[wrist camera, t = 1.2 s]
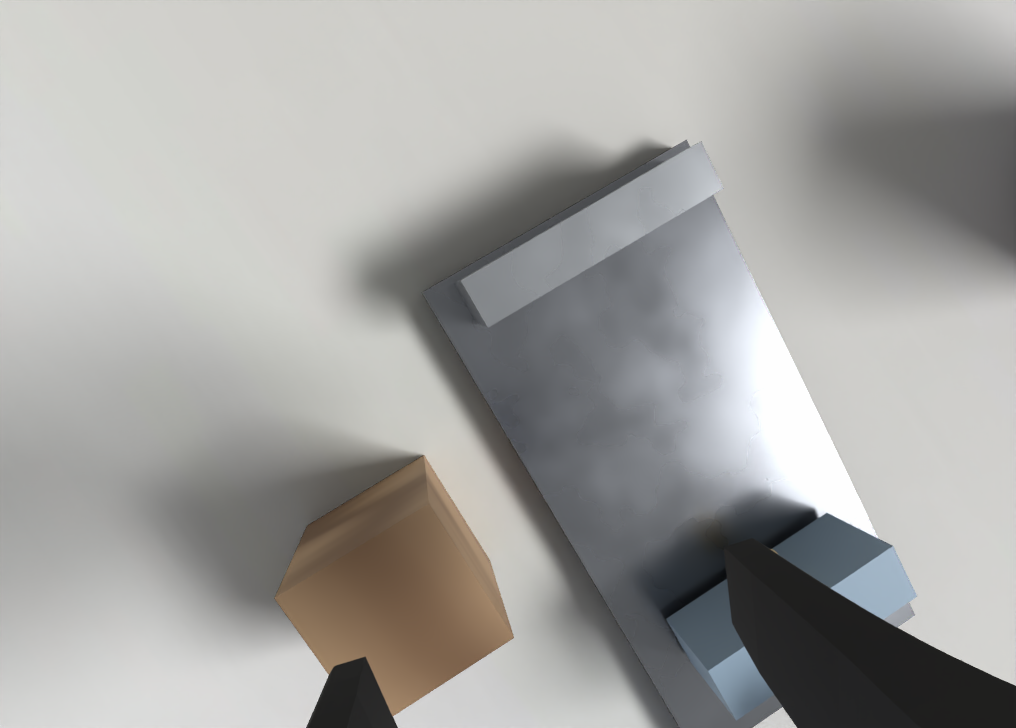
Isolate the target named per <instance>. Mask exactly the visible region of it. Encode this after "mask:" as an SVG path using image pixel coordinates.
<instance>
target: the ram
mask: <svg viewBox="0 0 1016 728" xmlns="http://www.w3.org/2000/svg"><path fill="white" fill-rule="evenodd" d="M771 550H772V551H774V552H775V553H777V554H778V555H780V556H781V557H783V558H784V559H786V560H787V561H789V562H790V563H792V564H794V565H795V566H797V567H798V568H800V569H801V570H803V571H804V572H806V573H807V574H809V575H810V576H812V577H814V578H815V579H817V580H818V581H820V582H821V583H823V584H825V585H826V586H828V587H829V588H831V589H833V590H834V591H836V592H837V593H839V594H841V595H842V596H844V597H846V598H847V599H849V600H851V601H852V602H854V603H856V604H857V605H859V606H861V607H862V608H864V609H866V610H867V611H869V612H871V613H872V614H874V615H876V616H878V617H879V618H881V619H883V620H884V619H885V618H886V617H888V616H889V615H891V614H892V613H894V612H895V611H897V610H898V609H900V608H901V607H902V606H904V605H905V604H907V603H908V602H910V601H911V600H913V599H914V598H916V597H917V595H916V593H915V591H914V589H913V587H912V585H911V583H910V580H909V578H908V576H907V574H906V572H905V570H904V568H903V566H902V564H901V562H900V560H899V557H898V555H897V553H896V551H895V549H894V547H893V546H892V545H890V544H888V543H886V542H884V541H882V540H880V539H878V538H876V537H874V536H872V535H870V534H868V533H866V532H864V531H862V530H860V529H858V528H856V527H854V526H852V525H850V524H848V523H846V522H844V521H843V520H841V519H839V518H837V517H835V516H833V515H831V514H829V513H825V514H824V515H822V516H821V517H819V518H818V519H816V520H815V521H813V522H812V523H810V524H809V525H807V526H806V527H804V528H803V529H801V530H800V531H798V532H797V533H795V534H794V535H792V536H791V537H789V538H788V539H786V540H785V541H783V542H782V543H780V544H779V545H777V546H776V547H774V548H773V549H771ZM666 620H667V622H668V623H669V625H670V627H671V629H672V630H673V632H674V634H675V636H676V637H677V639H678V641H679V643H680V644H681V646H682V648H683V649H684V651H685V653H686V655H687V656H688V658H689V660H690V662H691V663H692V664H693V666H694V667H695V668H696V670H697V671H698V672H699V673H700V675H701V676H702V677H703V679H704V680H705V681H706V682H707V684H708V685H709V686H710V688H711V689H712V690H713V691H714V693H715V694H716V695H717V697H718V698H719V699H720V700H721V702H722V703H723V704H724V705H725V707H726V708H727V709H728V711H729V712H730V713H731V714H732V716H733V717H734V718H735V720H736V721H737V720H738V719H740V718H741V717H743V716H744V715H745V714H747V713H748V712H750V711H751V710H753V709H754V708H756V707H757V706H759V705H760V704H761V703H763V702H764V701H766V700H767V699H769V698H770V697H772V696H773V695H774V694H773V692H772V691H771V689H770V688H769V686H768V685H767V683H766V682H765V680H764V679H763V678H762V676H761V675H760V673H759V671H758V670H757V668H756V666H755V664H754V662H753V661H752V659H751V657H750V655H749V654H748V652H747V650H746V648H745V646H744V645H743V643H742V641H741V639H740V637H739V635H738V633H737V632H736V630H735V628H734V626H733V624H732V619H731V610H730V601H729V592H728V583H727V579H726V580H724V581H723V582H721V583H720V584H718V585H717V586H715V587H714V588H712V589H710V590H709V591H707V592H706V593H704V594H703V595H701V596H700V597H698V598H697V599H695V600H694V601H692V602H691V603H689V604H688V605H686V606H685V607H683V608H682V609H680V610H679V611H677V612H676V613H674V614H673V615H671V616H670V617H668V618H667V619H666Z"/></svg>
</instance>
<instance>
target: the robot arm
mask: <svg viewBox="0 0 1016 728" xmlns="http://www.w3.org/2000/svg"><path fill="white" fill-rule="evenodd" d="M723 548H724V557H725V565H726V574H727V583H728V592H729V601H730V610H731V619H732V624H733V626H734V628H735V630H736V632H737V633H738V635H739V637H740V639H741V641H742V643H743V645H744V646H745V648H746V650H747V652H748V654H749V655H750V657H751V659H752V661H753V662H754V664H755V666H756V668H757V670H758V671H759V673H760V675H761V676H762V678H763V679H764V680H765V682H766V683H767V685H768V686H769V688H770V689H771V691H772V692H773V694H774V695H775V696H776V698H777V699H778V701H779V702H780V704H781V705H782V706H783V708H784V709H785V711H786V712H787V714H788V715H789V716H790V718H791V719H792V721H793V722H794V724H795V725H796V726H797V728H1016V686H1015V685H1013V684H1010V683H1008V682H1006V681H1003V680H1001V679H999V678H997V677H994V676H992V675H990V674H988V673H986V672H984V671H982V670H980V669H977V668H975V667H973V666H971V665H969V664H967V663H965V662H963V661H961V660H959V659H956V658H954V657H952V656H950V655H948V654H946V653H944V652H942V651H940V650H938V649H936V648H934V647H932V646H930V645H929V644H927V643H925V642H923V641H921V640H919V639H917V638H915V637H914V636H912V635H910V634H908V633H906V632H904V631H903V630H901V629H899V628H897V627H895V626H893V625H892V624H890V623H888V622H886V621H885V620H883V619H881V618H879V617H878V616H876V615H874V614H872V613H871V612H869V611H867V610H866V609H864V608H862V607H861V606H859V605H857V604H856V603H854V602H852V601H851V600H849V599H847V598H846V597H844V596H842V595H841V594H839V593H837V592H836V591H834V590H833V589H831V588H829V587H828V586H826V585H825V584H823V583H821V582H820V581H818V580H817V579H815V578H814V577H812V576H810V575H809V574H807V573H806V572H804V571H803V570H801V569H800V568H798V567H797V566H795V565H794V564H792V563H790V562H789V561H787V560H786V559H784V558H783V557H781V556H780V555H778V554H777V553H775V552H774V551H772V550H771V549H769V548H768V547H766V546H765V545H763V544H762V543H760V542H759V541H757V540H755V539H753V538H751V539H748V540H744V541H741V542H738V543H735V544H731V545H728V546H725V547H723ZM306 728H398V727H397V725H396V723H395V721H394V718H393V716H392V714H391V712H390V710H389V707H388V705H387V703H386V701H385V698H384V696H383V694H382V692H381V690H380V687H379V685H378V683H377V681H376V679H375V676H374V674H373V672H372V670H371V667H370V665H369V663H368V661H367V659H366V656H365V657H362V658H359V659H355V660H352V661H349V662H346V663H342V664H339V665H336V666H334V667H333V669H332V670H331V672H330V674H329V676H328V679H327V681H326V683H325V686H324V688H323V690H322V693H321V695H320V697H319V700H318V702H317V704H316V707H315V709H314V711H313V713H312V716H311V718H310V720H309V723H308V725H307V727H306Z"/></svg>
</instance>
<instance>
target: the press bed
mask: <svg viewBox="0 0 1016 728" xmlns="http://www.w3.org/2000/svg"><path fill="white" fill-rule="evenodd" d="M722 189H724V188H723V186H722V183H721V181H720V179H719V177H718V175H717V173H716V171H715V169H714V167H713V165H712V162H711V160H710V158H709V156H708V154H707V152H706V150H705V148H704V146H703V144H702V141H701V142H699V143H697V144H695V145H693V146H692V147H690V146H689V144H688V142H687V140H685V141H683V142H682V143H680V144H678V145H677V146H675V147H673V148H671V149H670V150H668V151H666V152H664V153H663V154H661V155H659V156H658V157H656V158H654V159H652V160H651V161H649V162H647V163H645V164H644V165H642V166H640V167H638V168H637V169H635V170H633V171H632V172H630V173H628V174H626V175H625V176H623V177H621V178H619V179H618V180H616V181H614V182H613V183H611V184H609V185H607V186H606V187H604V188H602V189H600V190H599V191H597V192H595V193H593V194H592V195H590V196H588V197H587V198H585V199H583V200H581V201H580V202H578V203H576V204H574V205H573V206H571V207H569V208H567V209H566V210H564V211H562V212H561V213H559V214H557V215H555V216H554V217H552V218H550V219H548V220H547V221H545V222H543V223H542V224H540V225H538V226H536V227H535V228H533V229H531V230H529V231H528V232H526V233H524V234H522V235H521V236H519V237H517V238H516V239H514V240H512V241H510V242H509V243H507V244H505V245H503V246H502V247H500V248H498V249H496V250H495V251H493V252H491V253H490V254H488V255H486V256H484V257H483V258H481V259H479V260H477V261H476V262H474V263H472V264H471V265H469V266H467V267H465V268H464V269H462V270H460V271H458V272H457V273H455V274H453V275H451V276H450V277H448V278H446V279H445V280H443V281H441V282H439V283H438V284H436V285H434V286H432V287H431V288H429V289H427V290H426V291H424V292H422V294H423V296H424V297H425V299H426V301H427V302H428V304H429V306H430V307H431V309H432V311H433V312H434V314H435V316H436V318H437V319H438V321H439V323H440V324H441V326H442V328H443V329H444V331H445V333H446V334H447V336H448V338H449V339H450V341H451V343H452V344H453V346H454V348H455V350H456V351H457V353H458V355H459V356H460V358H461V360H462V361H463V363H464V365H465V366H466V368H467V370H468V371H469V373H470V375H471V377H472V378H473V380H474V382H475V383H476V385H477V387H478V388H479V390H480V392H481V393H482V395H483V397H484V398H485V400H486V402H487V404H488V405H489V407H490V409H491V410H492V412H493V414H494V415H495V417H496V419H497V420H498V422H499V424H500V425H501V427H502V429H503V431H504V432H505V434H506V436H507V437H508V439H509V441H510V442H511V444H512V446H513V447H514V449H515V451H516V452H517V454H518V456H519V458H520V459H521V461H522V463H523V464H524V466H525V468H526V469H527V471H528V473H529V474H530V476H531V478H532V479H533V481H534V483H535V485H536V486H537V488H538V490H539V491H540V493H541V495H542V496H543V498H544V500H545V501H546V503H547V505H548V506H549V508H550V510H551V512H552V513H553V515H554V517H555V518H556V520H557V522H558V523H559V525H560V527H561V528H562V530H563V532H564V533H565V535H566V537H567V539H568V540H569V542H570V544H571V545H572V547H573V549H574V550H575V552H576V554H577V555H578V557H579V559H580V560H581V562H582V564H583V566H584V567H585V569H586V571H587V572H588V574H589V576H590V577H591V579H592V581H593V582H594V584H595V586H596V587H597V589H598V591H599V593H600V594H601V596H602V598H603V599H604V601H605V603H606V604H607V606H608V608H609V609H610V611H611V613H612V614H613V616H614V618H615V620H616V621H617V623H618V625H619V626H620V628H621V630H622V631H623V633H624V635H625V636H626V638H627V640H628V641H629V643H630V645H631V647H632V648H633V650H634V652H635V653H636V655H637V657H638V658H639V660H640V662H641V663H642V665H643V667H644V668H645V670H646V672H647V674H648V675H649V677H650V679H651V680H652V682H653V684H654V685H655V687H656V689H657V690H658V692H659V694H660V695H661V697H662V699H663V701H664V702H665V704H666V706H667V707H668V709H669V711H670V712H671V714H672V716H673V717H674V719H675V721H676V722H677V724H678V726H679V728H752V727H754V726H755V725H757V724H758V723H760V722H761V721H763V720H764V719H765V718H767V717H768V716H770V715H771V714H773V713H774V712H776V711H777V710H779V709H780V708H781V707H783V706H782V705H781V704H780V702H779V701H778V699H777V698H776V696H775V695H773V696H772V697H770V698H769V699H767V700H766V701H764V702H763V703H761V704H760V705H759V706H757V707H756V708H754V709H753V710H751V711H750V712H748V713H747V714H745V715H744V716H743V717H741V718H740V719H738V720H737V721H736V720H735V718H734V717H733V716H732V714H731V713H730V712H729V711H728V709H727V708H726V707H725V705H724V704H723V703H722V702H721V700H720V699H719V698H718V697H717V695H716V694H715V693H714V691H713V690H712V689H711V688H710V686H709V685H708V684H707V682H706V681H705V680H704V679H703V677H702V676H701V675H700V673H699V672H698V671H697V670H696V668H695V667H694V666H693V664H692V663H691V662H690V660H689V658H688V656H687V655H686V653H685V651H684V649H683V648H682V646H681V644H680V643H679V641H678V639H677V637H676V636H675V634H674V632H673V630H672V629H671V627H670V625H669V623H668V622H667V620H666V619H667V618H668V617H670V616H671V615H673V614H674V613H676V612H677V611H679V610H680V609H682V608H683V607H685V606H686V605H688V604H689V603H691V602H692V601H694V600H695V599H697V598H698V597H700V596H701V595H703V594H704V593H706V592H707V591H709V590H710V589H712V588H714V587H715V586H717V585H718V584H720V583H721V582H723V581H724V580H726V579H727V574H726V565H725V557H724V548H723V547H725V546H728V545H731V544H735V543H738V542H741V541H744V540H748V539H751V538H753V539H755V540H757V541H759V542H760V543H762V544H763V545H765V546H766V547H768V548H769V549H773V548H774V547H776V546H777V545H779V544H780V543H782V542H783V541H785V540H786V539H788V538H789V537H791V536H792V535H794V534H795V533H797V532H798V531H800V530H801V529H803V528H804V527H806V526H807V525H809V524H810V523H812V522H813V521H815V520H816V519H818V518H819V517H821V516H822V515H824V514H825V513H829V514H831V515H833V516H835V517H837V518H839V519H841V520H843V521H844V522H846V523H848V524H850V525H852V526H854V527H856V528H858V529H860V530H862V531H864V532H866V533H868V534H870V535H872V536H874V537H876V538H878V537H877V535H876V533H875V531H874V528H873V526H872V524H871V522H870V520H869V518H868V516H867V514H866V512H865V510H864V508H863V506H862V504H861V501H860V499H859V497H858V495H857V493H856V491H855V489H854V487H853V485H852V483H851V481H850V479H849V477H848V474H847V472H846V470H845V468H844V466H843V464H842V462H841V460H840V458H839V456H838V454H837V452H836V449H835V447H834V445H833V443H832V441H831V439H830V437H829V435H828V433H827V431H826V429H825V427H824V425H823V422H822V420H821V418H820V416H819V414H818V412H817V410H816V408H815V406H814V404H813V402H812V400H811V398H810V395H809V393H808V391H807V389H806V387H805V385H804V383H803V381H802V379H801V377H800V375H799V373H798V371H797V368H796V366H795V364H794V362H793V360H792V358H791V356H790V354H789V352H788V350H787V348H786V346H785V343H784V341H783V339H782V337H781V335H780V333H779V331H778V329H777V327H776V325H775V323H774V321H773V319H772V316H771V314H770V312H769V310H768V308H767V306H766V304H765V302H764V300H763V298H762V296H761V294H760V292H759V289H758V287H757V285H756V283H755V281H754V279H753V277H752V275H751V273H750V271H749V269H748V267H747V265H746V262H745V260H744V258H743V256H742V254H741V252H740V250H739V248H738V246H737V244H736V242H735V240H734V238H733V235H732V233H731V231H730V229H729V227H728V225H727V223H726V221H725V219H724V217H723V215H722V213H721V210H720V208H719V206H718V204H717V202H716V200H715V198H714V196H713V195H714V194H715V193H717V192H719V191H720V190H722ZM913 616H915V614H914V612H913V610H912V607H911V605H910V603H909V602H908V603H907V604H905V605H904V606H902V607H901V608H900V609H898V610H897V611H895V612H894V613H892V614H891V615H889V616H888V617H886V618H885V619H884V620H885V621H886V622H888V623H890V624H892V625H893V626H895V627H899V626H900V625H901V624H903V623H904V622H906V621H907V620H909V619H910V618H912V617H913Z"/></svg>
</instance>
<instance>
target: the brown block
mask: <svg viewBox="0 0 1016 728" xmlns="http://www.w3.org/2000/svg"><path fill="white" fill-rule="evenodd" d="M274 599H275V600H276V601H277V603H278V604H279V606H280V607H281V608H282V610H283V611H284V613H285V614H286V615H287V617H288V618H289V620H290V621H291V622H292V624H293V625H294V627H295V628H296V629H297V631H298V632H299V634H300V635H301V636H302V638H303V639H304V641H305V642H306V643H307V645H308V646H309V648H310V649H311V650H312V652H313V653H314V655H315V656H316V657H317V659H318V660H319V662H320V663H321V665H322V666H323V667H324V669H325V670H326V672H327V673H328V674H330V672H331V670H332V669H333V667H334V666H336V665H339V664H342V663H346V662H349V661H352V660H355V659H359V658H362V657H365V656H366V659H367V661H368V663H369V665H370V667H371V670H372V672H373V674H374V676H375V679H376V681H377V683H378V685H379V687H380V690H381V692H382V694H383V696H384V698H385V701H386V703H387V705H388V707H389V710H390V712H391V714H392V716H394V715H396V714H397V713H399V712H400V711H402V710H403V709H405V708H406V707H408V706H409V705H411V704H413V703H414V702H416V701H417V700H419V699H420V698H422V697H423V696H425V695H426V694H428V693H430V692H431V691H433V690H434V689H436V688H437V687H439V686H440V685H442V684H443V683H445V682H447V681H448V680H450V679H451V678H453V677H454V676H456V675H457V674H459V673H460V672H462V671H464V670H465V669H467V668H468V667H470V666H471V665H473V664H474V663H476V662H477V661H479V660H481V659H482V658H484V657H485V656H487V655H488V654H490V653H491V652H493V651H494V650H496V649H498V648H499V647H501V646H502V645H504V644H505V643H507V642H508V641H510V640H511V639H513V638H514V636H513V633H512V630H511V626H510V623H509V620H508V617H507V614H506V610H505V607H504V604H503V601H502V598H501V594H500V591H499V588H498V585H497V582H496V579H495V575H494V572H493V569H492V566H491V563H490V560H489V558H488V557H487V555H486V553H485V552H484V550H483V549H482V547H481V545H480V544H479V542H478V541H477V539H476V537H475V536H474V534H473V533H472V531H471V529H470V528H469V526H468V525H467V523H466V521H465V520H464V518H463V517H462V515H461V513H460V512H459V510H458V509H457V507H456V505H455V504H454V502H453V501H452V499H451V497H450V496H449V494H448V493H447V491H446V489H445V488H444V486H443V485H442V483H441V481H440V480H439V478H438V477H437V475H436V473H435V472H434V470H433V469H432V467H431V465H430V464H429V462H428V461H427V459H426V457H425V456H424V455H423V456H422V457H420V458H418V459H417V460H415V461H413V462H412V463H410V464H408V465H407V466H405V467H403V468H402V469H400V470H398V471H397V472H395V473H393V474H392V475H390V476H388V477H387V478H385V479H384V480H382V481H380V482H379V483H377V484H375V485H374V486H372V487H370V488H369V489H367V490H365V491H364V492H362V493H360V494H359V495H357V496H355V497H354V498H352V499H350V500H349V501H347V502H346V503H344V504H342V505H341V506H339V507H337V508H336V509H334V510H332V511H331V512H329V513H327V514H326V515H324V516H322V517H321V518H319V519H317V520H316V521H314V522H313V523H311V524H309V525H308V526H307V527H306V529H305V532H304V534H303V536H302V538H301V540H300V543H299V545H298V547H297V549H296V551H295V554H294V556H293V558H292V560H291V562H290V565H289V567H288V569H287V571H286V574H285V576H284V578H283V580H282V582H281V585H280V587H279V589H278V591H277V593H276V596H275V598H274Z"/></svg>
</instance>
